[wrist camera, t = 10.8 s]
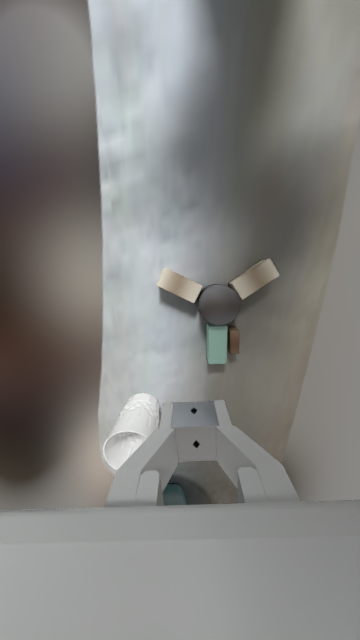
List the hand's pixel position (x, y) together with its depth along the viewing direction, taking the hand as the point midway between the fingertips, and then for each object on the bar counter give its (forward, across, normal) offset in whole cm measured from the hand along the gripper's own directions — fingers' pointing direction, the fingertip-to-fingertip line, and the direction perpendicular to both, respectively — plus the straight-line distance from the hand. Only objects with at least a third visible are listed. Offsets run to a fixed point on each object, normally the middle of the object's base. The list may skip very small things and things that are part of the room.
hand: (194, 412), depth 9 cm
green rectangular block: (+24, -5, +6) cm, 25 cm away
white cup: (+24, +10, +19) cm, 32 cm away
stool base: (+24, -5, 0) cm, 25 cm away
